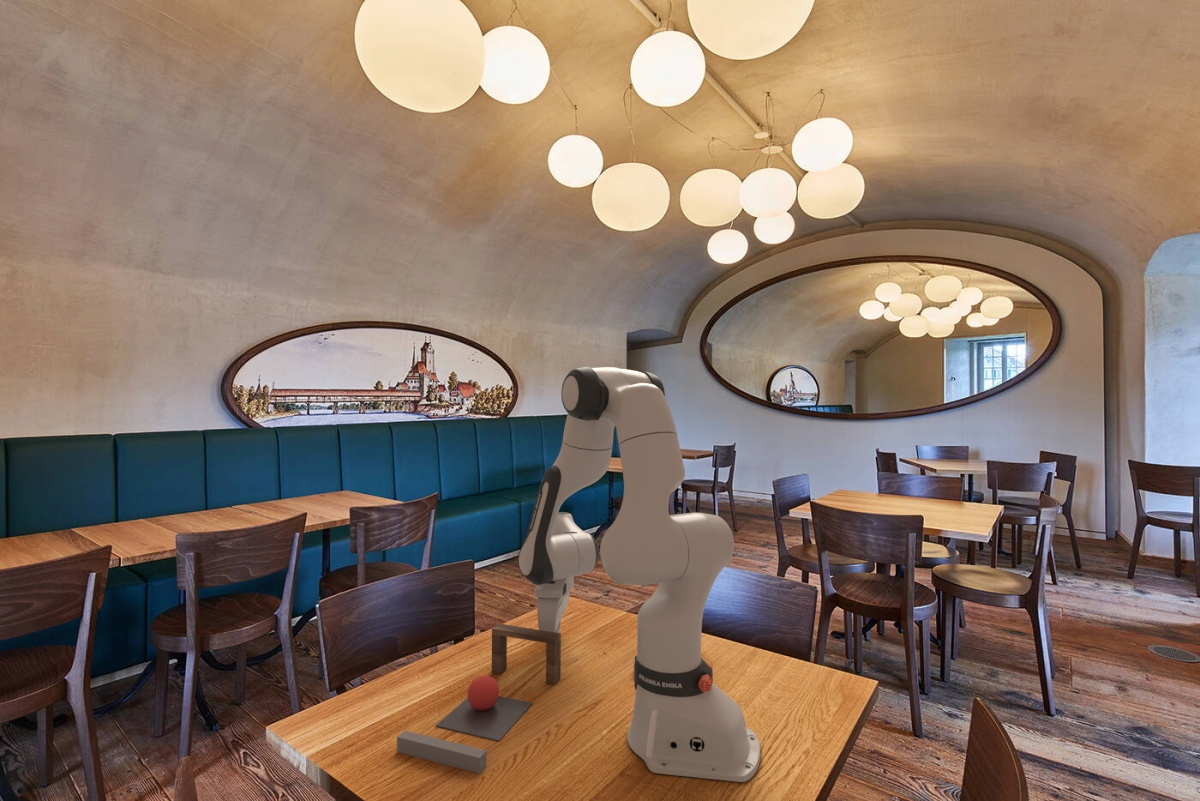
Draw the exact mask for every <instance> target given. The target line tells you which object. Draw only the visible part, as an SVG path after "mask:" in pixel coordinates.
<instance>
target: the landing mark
mask: <svg viewBox="0 0 1200 801" xmlns="http://www.w3.org/2000/svg"><path fill="white" fill-rule="evenodd" d="M533 703H534V702H531V701H526V700H520V699H516V698H511V697H506V696H501V695H499V697H498V700H497V702H496V703H495V704H494V706H493V707H491V708H490V709H488V710H484V711H480V710H476V709H474V708H473V707H472V706H471V705H470V703H469V701H468V697H466V698H465V699H464V701H462V702H461V703H459V705H458V706H456V707H455V708H454V709H453V710H452V711H451V712H449V713H448V714H447V715H446V716H444V718H443V719H441V720H440V721H439V722H438V723H436V724H435V727H436V728H441V729H445V730H449V731H454V732H458V733H462V734H466V735H470V736H475V737H478V738H483V739H488V740H490V741H491V740H492V741H496V742H500V741H501V739H502V738H504V737H505V735H506V734H507V733H509V731H510V730H511V729H512V728H513V726H514V725H516V723H517V722H518V721H519V720H520V719H521V718H522V717H523V716H524V714H525V713H527V711H528V710H529V709H530V708H531V707H532V705H533Z"/></svg>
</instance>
